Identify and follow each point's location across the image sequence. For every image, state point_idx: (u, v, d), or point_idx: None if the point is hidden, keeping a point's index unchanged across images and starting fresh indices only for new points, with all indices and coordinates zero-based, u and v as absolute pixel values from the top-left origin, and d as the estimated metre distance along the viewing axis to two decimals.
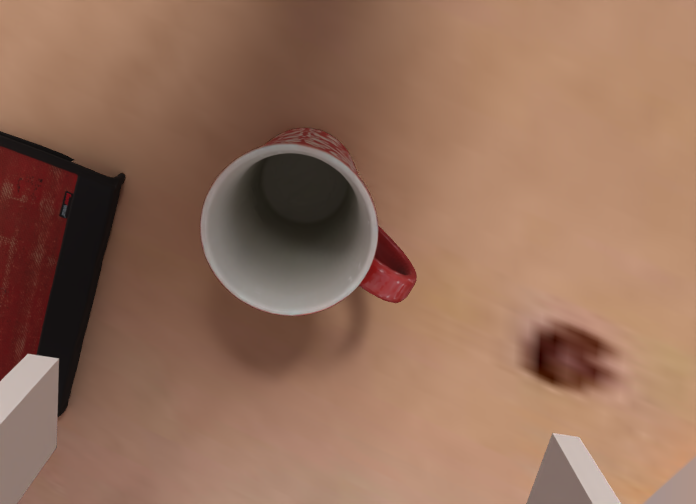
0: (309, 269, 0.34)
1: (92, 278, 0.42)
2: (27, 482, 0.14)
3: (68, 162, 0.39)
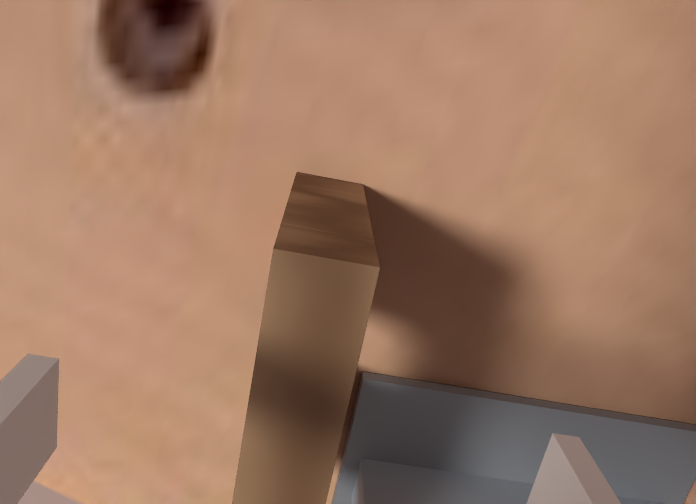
0: None
1: None
2: (27, 482, 0.14)
3: None
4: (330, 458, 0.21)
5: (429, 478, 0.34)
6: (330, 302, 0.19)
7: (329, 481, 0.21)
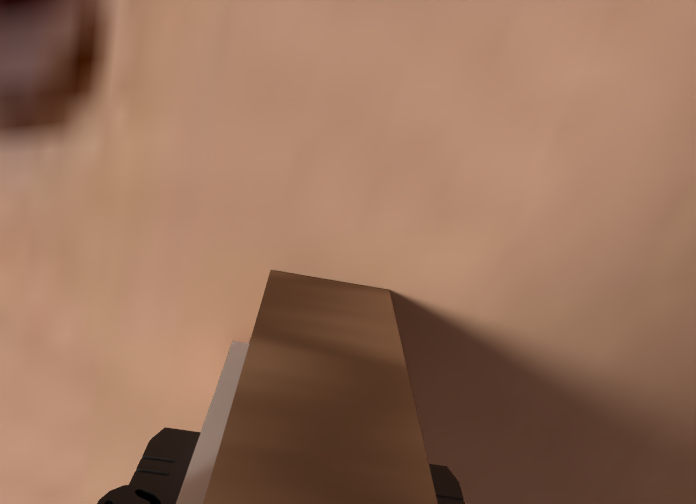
0: None
1: None
2: None
3: None
4: None
5: None
6: None
7: None
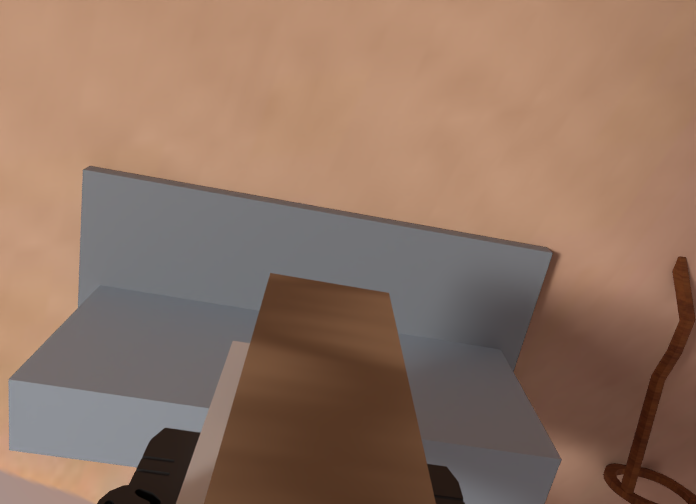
0: None
1: None
2: None
3: None
4: None
5: (183, 307, 0.27)
6: None
7: None
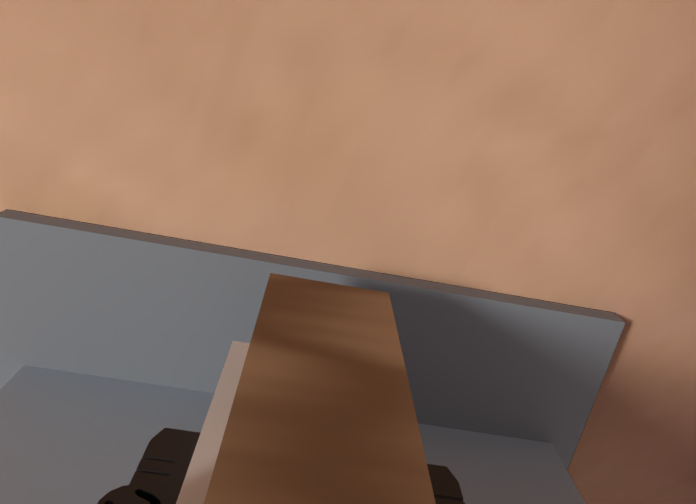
0: None
1: None
2: None
3: None
4: None
5: (132, 396, 0.20)
6: None
7: None
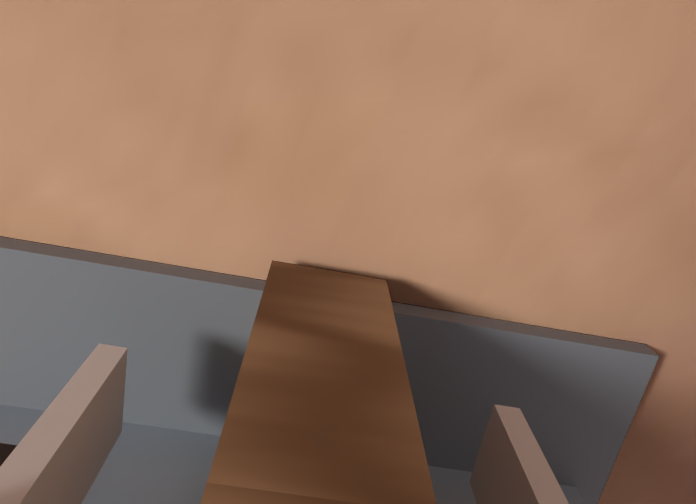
0: None
1: None
2: (101, 462, 0.15)
3: None
4: None
5: None
6: None
7: None
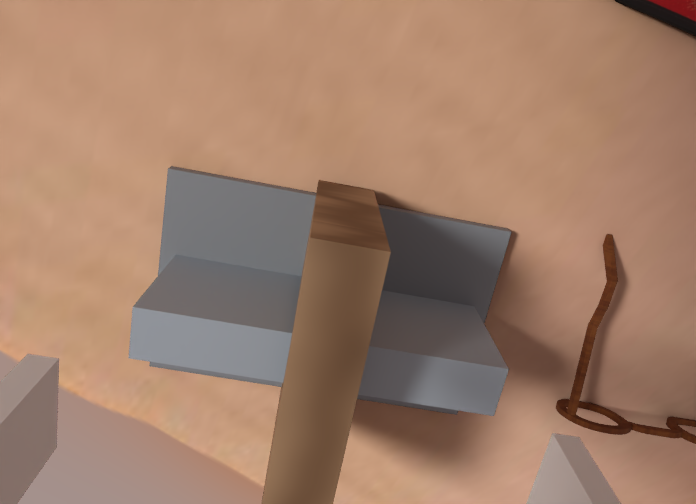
0: None
1: None
2: (27, 482, 0.14)
3: None
4: (351, 404, 0.27)
5: (237, 270, 0.36)
6: (353, 278, 0.25)
7: (350, 423, 0.27)
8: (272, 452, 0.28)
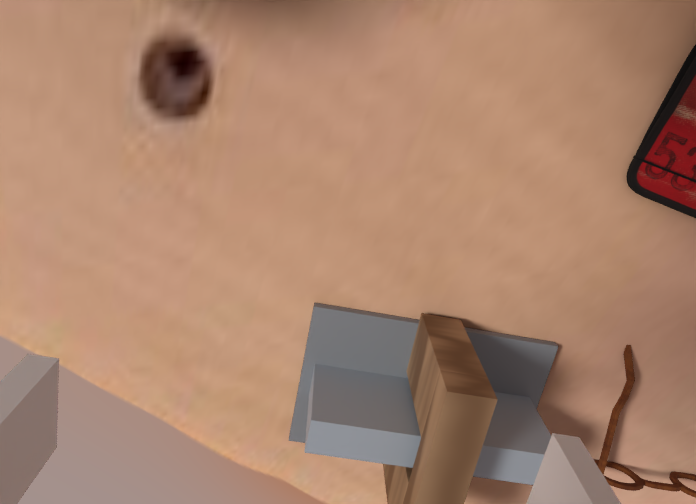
0: None
1: None
2: (27, 482, 0.14)
3: None
4: (465, 490, 0.41)
5: (360, 376, 0.50)
6: (472, 415, 0.39)
7: (463, 501, 0.41)
8: None
